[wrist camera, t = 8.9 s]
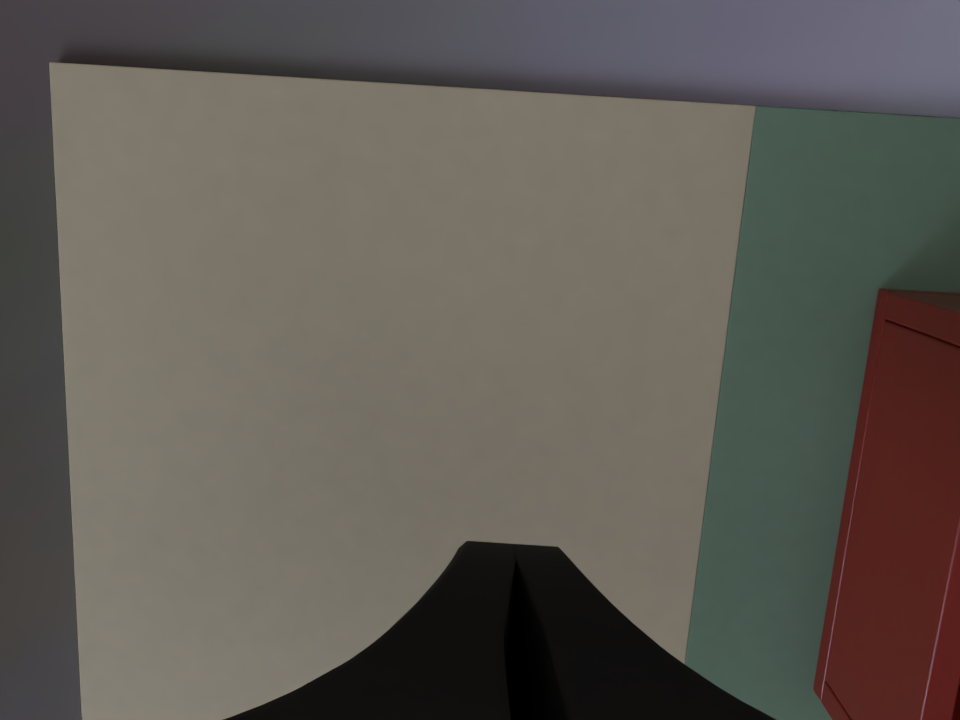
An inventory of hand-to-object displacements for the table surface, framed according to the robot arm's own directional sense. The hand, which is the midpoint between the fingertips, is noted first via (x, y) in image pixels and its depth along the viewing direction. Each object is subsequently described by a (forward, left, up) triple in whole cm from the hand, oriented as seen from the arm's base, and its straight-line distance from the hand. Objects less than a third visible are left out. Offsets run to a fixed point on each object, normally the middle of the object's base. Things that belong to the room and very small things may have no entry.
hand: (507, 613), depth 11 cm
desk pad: (0, -4, -5) cm, 6 cm away
